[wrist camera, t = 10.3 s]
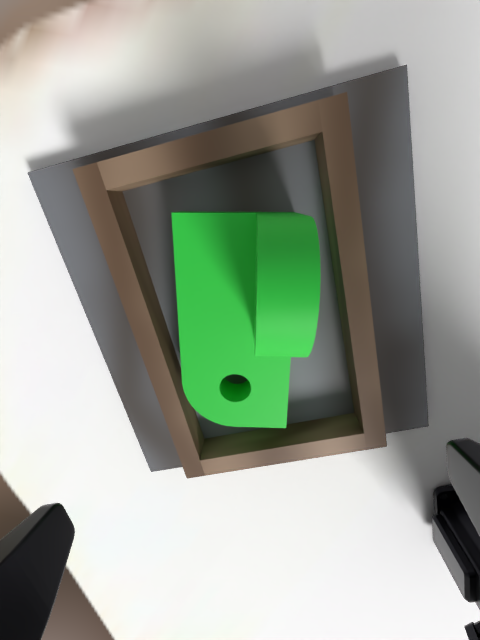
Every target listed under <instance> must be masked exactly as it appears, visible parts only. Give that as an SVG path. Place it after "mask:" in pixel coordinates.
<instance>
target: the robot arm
mask: <svg viewBox="0 0 480 640" xmlns="http://www.w3.org/2000/svg"><path fill="white" fill-rule="evenodd" d="M446 451H447V472H448V476H449V479H450V481H451V483H452V485H450V486H443V487H439V488H437V489H435V491H434V508H435V514H434V515H433V517H432V524H433V540H434V543H435V545H436V547H437V549H438V551H439V552H440V554H441V556H442V558H443V560H444V562H445V563H446V565H447V567H448V569H449V571H450V573H451V575H452V577H453V579H454V580H455V582H456V584H457V586H458V588H459V590H460V592H461V594H462V595H463V597H464V599H466V600H467V601H468V602H476V604H477V606H478V608H479V609H480V444H479V443H477V442H475V441H473V440H471V439H468V438H463V439H457V440H451V441H449V442H448V443H447V446H446ZM74 534H75V529H74V525H73V523H72V521H71V520H70V518H69V516H68V514H67V512H66V510H65V509H64V507H63V505H61V504H60V503H53V504H47V505H43V506H41V507H40V508H38V509H37V510H36V511H35V512H33V513H32V514H31V515H30V516H29V517H28V518H26V519H25V520H24V521H22V522H21V523H20V524H19V525H18V526H16V527H15V528H14V529H13V530H11V531H10V532H9V533H8V534H7V535H5V536H4V537H3V538H2V539H0V640H41V638H42V636H43V633H44V631H45V628H46V625H47V623H48V620H49V617H50V614H51V612H52V608H53V605H54V602H55V599H56V596H57V593H58V589H59V586H60V582H61V579H62V576H63V572H64V569H65V566H66V563H67V559H68V556H69V553H70V549H71V546H72V543H73V539H74ZM465 630H466V632H467V635H468V638H469V640H480V621H478V622H476V623H473V622H471V623H469V624H467V625H465Z"/></svg>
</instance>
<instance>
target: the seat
mask: <svg viewBox="0 0 480 640" xmlns="http://www.w3.org/2000/svg"><path fill="white" fill-rule="evenodd" d="M28 175H29V178H30V180H31V182H32V185H33V187H34V190H35V192H36V194H37V197H38V199H39V202H40V204H41V207H42V209H43V211H44V214H45V216H46V219H47V221H48V224H49V226H50V228H51V231H52V233H53V236H54V238H55V240H56V243H57V245H58V248H59V250H60V253H61V255H62V257H63V260H64V262H65V265H66V267H67V270H68V272H69V274H70V277H71V279H72V282H73V284H74V286H75V289H76V291H77V294H78V296H79V299H80V301H81V303H82V306H83V308H84V311H85V313H86V316H87V318H88V320H89V323H90V325H91V328H92V330H93V332H94V335H95V337H96V340H97V342H98V345H99V347H100V349H101V352H102V354H103V357H104V359H105V362H106V364H107V366H108V369H109V371H110V374H111V376H112V378H113V381H114V383H115V386H116V388H117V391H118V393H119V395H120V398H121V400H122V403H123V405H124V408H125V410H126V412H127V415H128V417H129V420H130V422H131V424H132V427H133V429H134V432H135V434H136V437H137V439H138V441H139V444H140V446H141V449H142V451H143V454H144V456H145V458H146V461H147V463H148V466H149V468H150V470H151V472H153V471H159V470H166V469H172V468H178V467H183V469H184V472H185V474H186V477H187V478H193V477H199V476H205V475H211V474H218V473H224V472H230V471H236V470H243V469H249V468H255V467H261V466H268V465H274V464H280V463H286V462H293V461H299V460H305V459H311V458H318V457H324V456H330V455H336V454H343V453H349V452H355V451H361V450H368V449H374V448H380V447H386V446H387V442H386V433H391V432H397V431H403V430H409V429H415V428H421V427H427V426H428V409H427V392H426V376H425V359H424V342H423V326H422V309H421V293H420V276H419V259H418V243H417V226H416V209H415V193H414V176H413V160H412V143H411V126H410V110H409V93H408V76H407V65H404V66H400V67H397V68H393V69H390V70H386V71H383V72H379V73H376V74H372V75H369V76H365V77H362V78H358V79H355V80H351V81H348V82H344V83H341V84H337V85H334V86H330V87H326V88H323V89H319V90H316V91H312V92H309V93H305V94H302V95H298V96H295V97H291V98H288V99H284V100H281V101H277V102H274V103H270V104H267V105H263V106H260V107H256V108H253V109H249V110H246V111H242V112H239V113H235V114H232V115H228V116H225V117H221V118H218V119H214V120H211V121H207V122H204V123H200V124H197V125H193V126H190V127H186V128H183V129H179V130H176V131H172V132H169V133H165V134H162V135H158V136H155V137H151V138H148V139H144V140H141V141H137V142H134V143H130V144H126V145H123V146H119V147H116V148H112V149H109V150H105V151H102V152H98V153H95V154H91V155H88V156H84V157H81V158H77V159H74V160H70V161H67V162H63V163H60V164H56V165H53V166H49V167H46V168H42V169H39V170H35V171H32V172H28ZM179 211H201V212H296V213H300V214H304V215H308V216H311V217H313V219H314V221H315V223H316V227H317V232H318V238H319V248H320V303H319V314H318V323H317V329H316V335H315V340H314V344H313V347H312V350H311V353H310V355H309V356H308V357H291V361H290V377H289V393H288V409H287V425H286V428H263V427H232V426H225V425H221V424H218V423H215V422H212V421H210V420H208V419H207V418H205V417H203V416H202V415H201V414H199V413H198V412H197V411H196V410H195V409H194V408H193V407H192V405H191V404H190V403H189V401H188V399H187V397H186V395H185V393H184V390H183V386H182V374H181V358H180V342H179V326H178V310H177V294H176V278H175V262H174V246H173V230H172V214H171V213H172V212H179ZM225 379H226V380H227V381H229V382H230V383H233V384H241V383H244V382H246V381H247V380H248V379H246V378H245V377H244V376H242V375H238V374H232V375H228V376H226V377H225Z"/></svg>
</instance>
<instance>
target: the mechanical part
mask: <svg viewBox="0 0 480 640" xmlns="http://www.w3.org/2000/svg"><path fill="white" fill-rule="evenodd" d="M171 214H172V230H173V246H174V262H175V278H176V294H177V310H178V326H179V342H180V358H181V374H182V386H183V390H184V393H185V395H186V397H187V399H188V401H189V403H190V404H191V405H192V407H193V408H194V409H195V410H196V411H197V412H198V413H199V414H201V415H202V416H203V417H205V418H207V419H208V420H210V421H212V422H215V423H218V424H221V425H225V426H232V427H263V428H286V425H287V409H288V393H289V377H290V361H291V357H308V356H309V355H310V353H311V350H312V347H313V344H314V340H315V335H316V329H317V323H318V314H319V303H320V248H319V238H318V232H317V227H316V223H315V221H314V219H313V217H311V216H308V215H304V214H300V213H296V212H201V211H179V212H172V213H171ZM232 374H238V375H242V376H244V377H245V378H246V379H248V380H247V381H246V382H244V383H241V384H233V383H230V382H229V381H227V380H226V379H225V377H226V376H228V375H232Z"/></svg>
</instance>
